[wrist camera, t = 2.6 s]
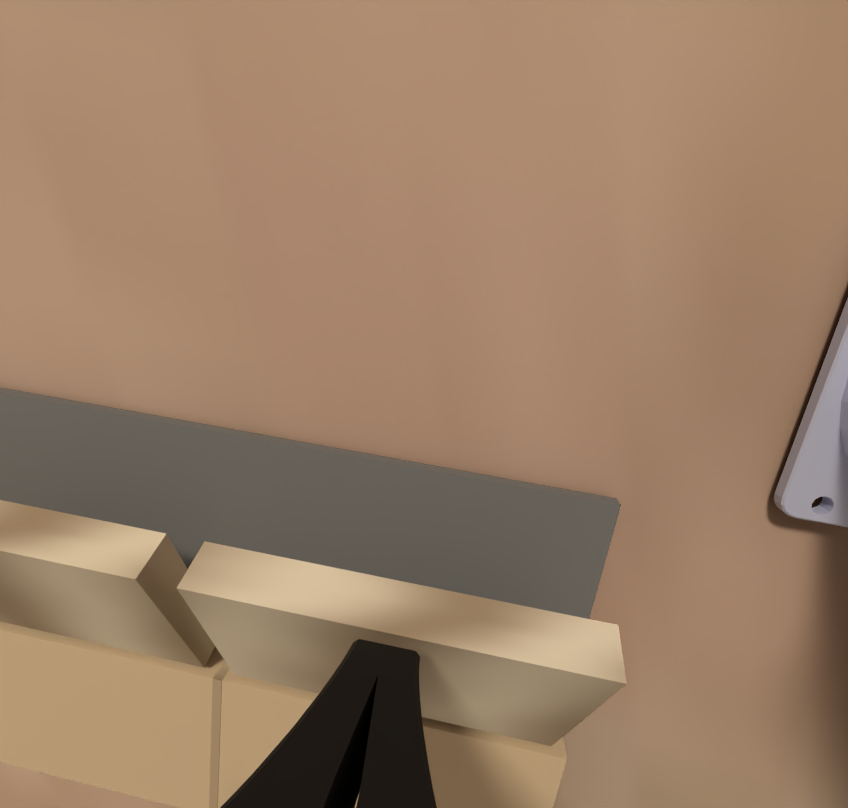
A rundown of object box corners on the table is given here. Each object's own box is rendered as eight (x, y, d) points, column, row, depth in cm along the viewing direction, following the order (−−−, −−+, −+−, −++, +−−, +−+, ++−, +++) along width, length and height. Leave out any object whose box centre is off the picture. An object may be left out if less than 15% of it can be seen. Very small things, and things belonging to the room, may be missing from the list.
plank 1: (166, 533, 11) (135, 579, 10) (223, 629, 15) (204, 667, 14) (-186, 462, 12) (-243, 499, 11) (-43, 571, 16) (-76, 604, 15)
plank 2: (618, 625, 10) (626, 683, 9) (549, 700, 14) (551, 746, 13) (204, 541, 11) (176, 588, 10) (251, 634, 15) (234, 674, 14)
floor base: (616, 498, 13) (635, 526, 11) (518, 852, 17) (522, 911, 15) (-67, 375, 15) (-132, 385, 13) (-19, 720, 18) (-65, 759, 17)
